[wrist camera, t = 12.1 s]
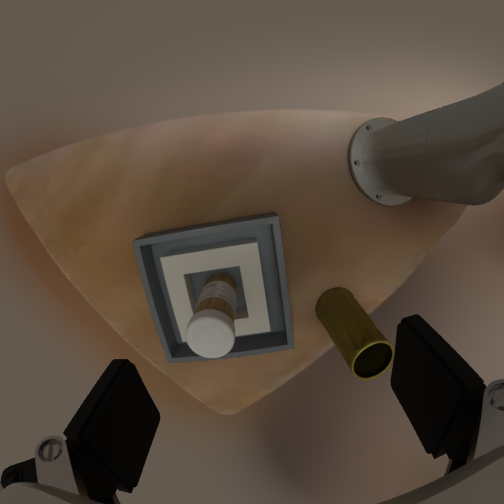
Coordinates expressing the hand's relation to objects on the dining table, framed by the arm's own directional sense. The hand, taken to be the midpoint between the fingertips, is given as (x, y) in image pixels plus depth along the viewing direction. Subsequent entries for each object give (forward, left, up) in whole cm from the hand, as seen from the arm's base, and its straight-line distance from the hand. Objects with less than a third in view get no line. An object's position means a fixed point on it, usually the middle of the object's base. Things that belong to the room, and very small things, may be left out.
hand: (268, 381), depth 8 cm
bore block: (+5, +6, -28) cm, 29 cm away
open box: (+5, +6, -28) cm, 29 cm away
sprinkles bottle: (+5, +6, -28) cm, 29 cm away
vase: (-11, +12, -28) cm, 33 cm away
